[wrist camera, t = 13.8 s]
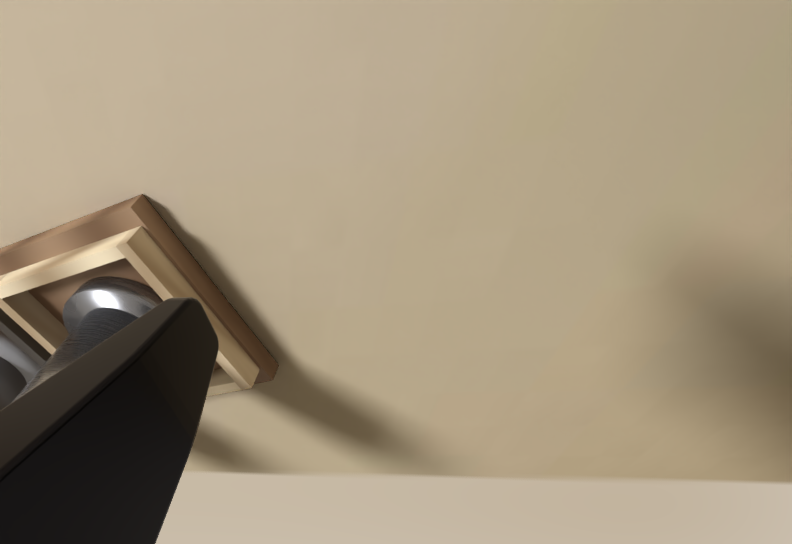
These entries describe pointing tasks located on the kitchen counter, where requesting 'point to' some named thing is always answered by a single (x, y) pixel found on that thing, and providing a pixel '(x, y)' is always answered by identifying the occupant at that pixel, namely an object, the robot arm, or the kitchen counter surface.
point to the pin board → (117, 257)
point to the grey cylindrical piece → (95, 319)
